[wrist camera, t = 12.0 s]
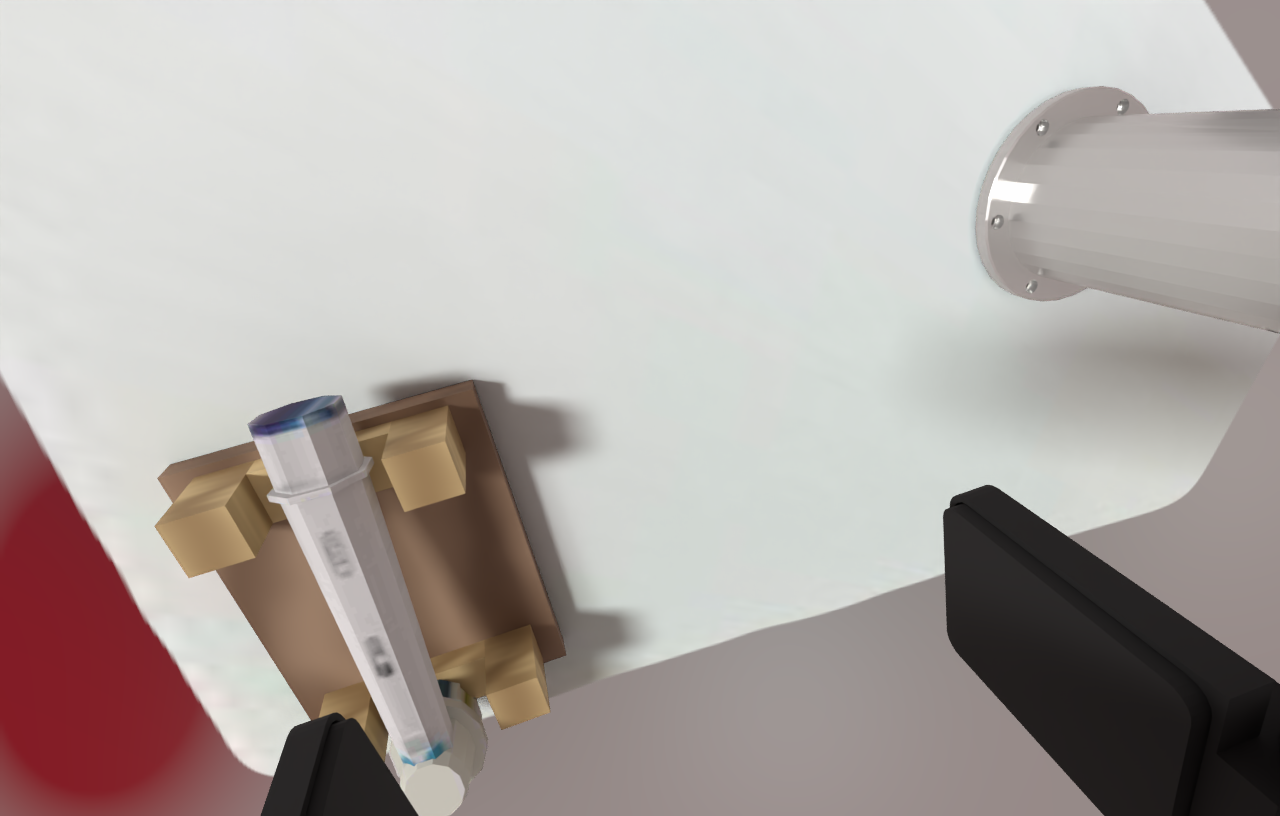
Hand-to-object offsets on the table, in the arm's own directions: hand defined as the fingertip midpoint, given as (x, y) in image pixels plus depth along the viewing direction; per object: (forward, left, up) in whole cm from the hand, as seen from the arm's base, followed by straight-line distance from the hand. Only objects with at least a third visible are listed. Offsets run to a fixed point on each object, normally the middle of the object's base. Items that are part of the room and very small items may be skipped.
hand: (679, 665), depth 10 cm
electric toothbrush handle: (+12, +14, -24) cm, 31 cm away
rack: (+12, +14, -27) cm, 33 cm away
